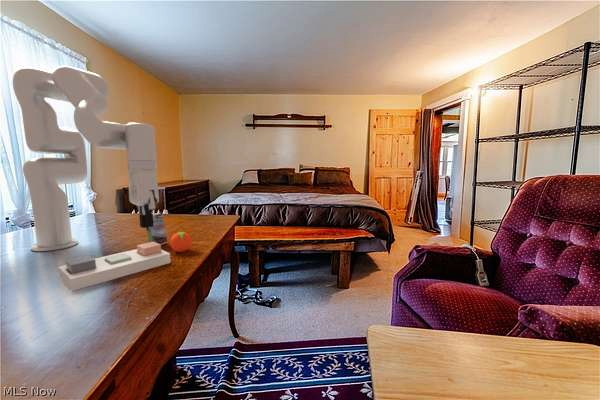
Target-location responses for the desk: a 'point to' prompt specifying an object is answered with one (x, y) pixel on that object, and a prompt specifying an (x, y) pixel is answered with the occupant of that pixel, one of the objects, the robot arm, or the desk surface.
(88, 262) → the charcoal button
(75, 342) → the desk surface
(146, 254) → the terracotta button
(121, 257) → the sage button
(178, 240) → the clementine
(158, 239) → the beverage can
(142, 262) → the panel
